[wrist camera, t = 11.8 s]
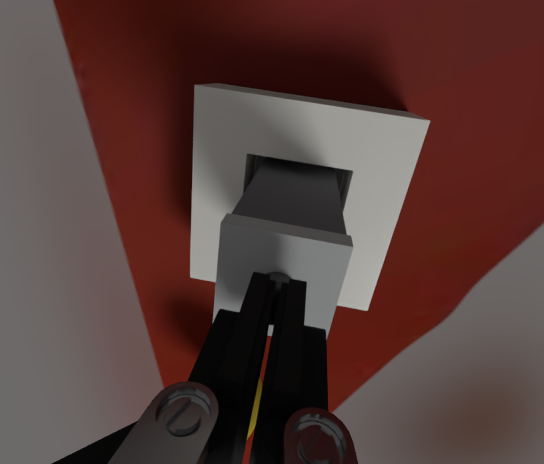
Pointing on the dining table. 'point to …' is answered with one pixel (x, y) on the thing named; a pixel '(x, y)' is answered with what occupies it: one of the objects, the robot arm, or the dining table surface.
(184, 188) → the dining table surface
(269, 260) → the plug
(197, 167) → the socket
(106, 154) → the dining table surface
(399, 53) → the dining table surface
